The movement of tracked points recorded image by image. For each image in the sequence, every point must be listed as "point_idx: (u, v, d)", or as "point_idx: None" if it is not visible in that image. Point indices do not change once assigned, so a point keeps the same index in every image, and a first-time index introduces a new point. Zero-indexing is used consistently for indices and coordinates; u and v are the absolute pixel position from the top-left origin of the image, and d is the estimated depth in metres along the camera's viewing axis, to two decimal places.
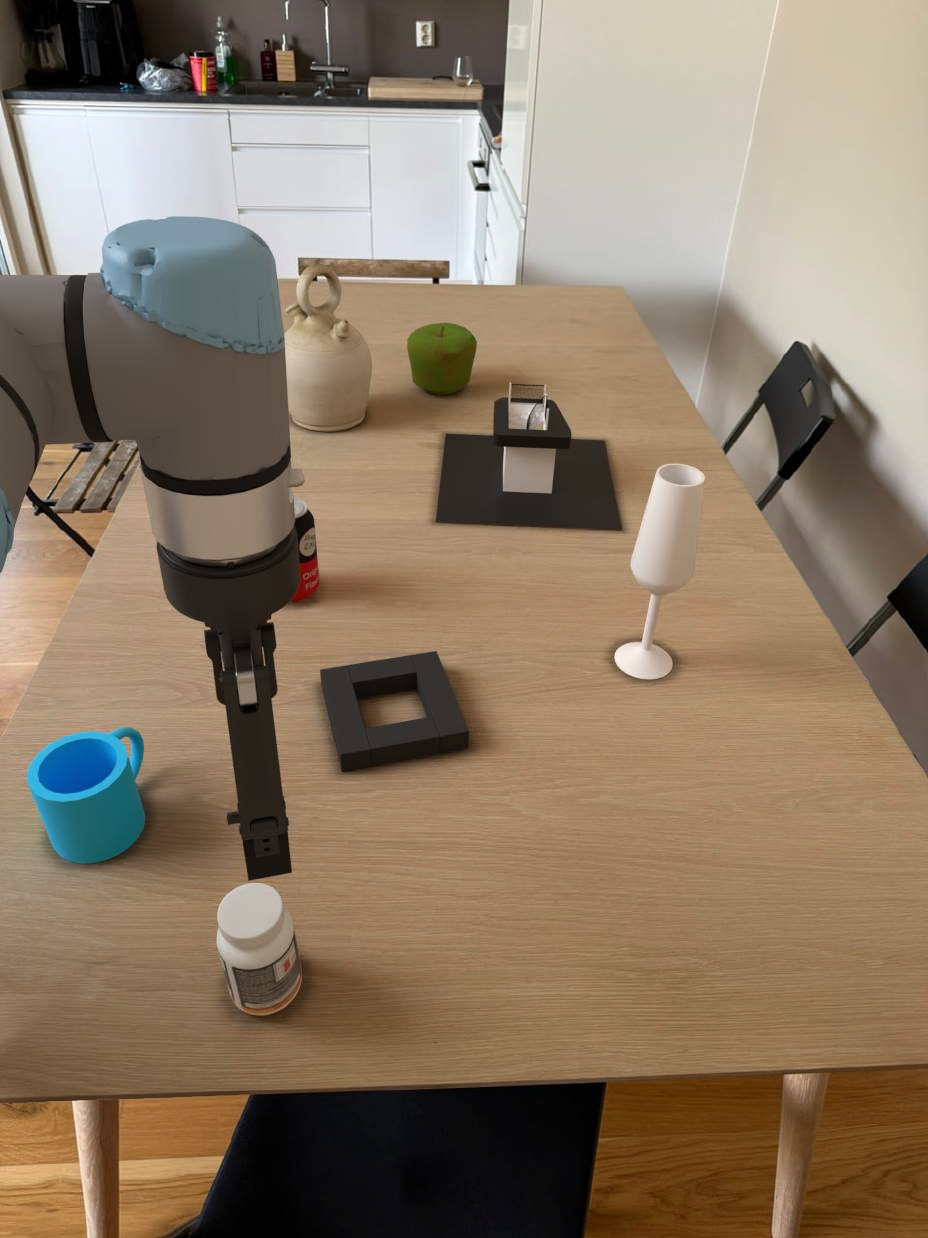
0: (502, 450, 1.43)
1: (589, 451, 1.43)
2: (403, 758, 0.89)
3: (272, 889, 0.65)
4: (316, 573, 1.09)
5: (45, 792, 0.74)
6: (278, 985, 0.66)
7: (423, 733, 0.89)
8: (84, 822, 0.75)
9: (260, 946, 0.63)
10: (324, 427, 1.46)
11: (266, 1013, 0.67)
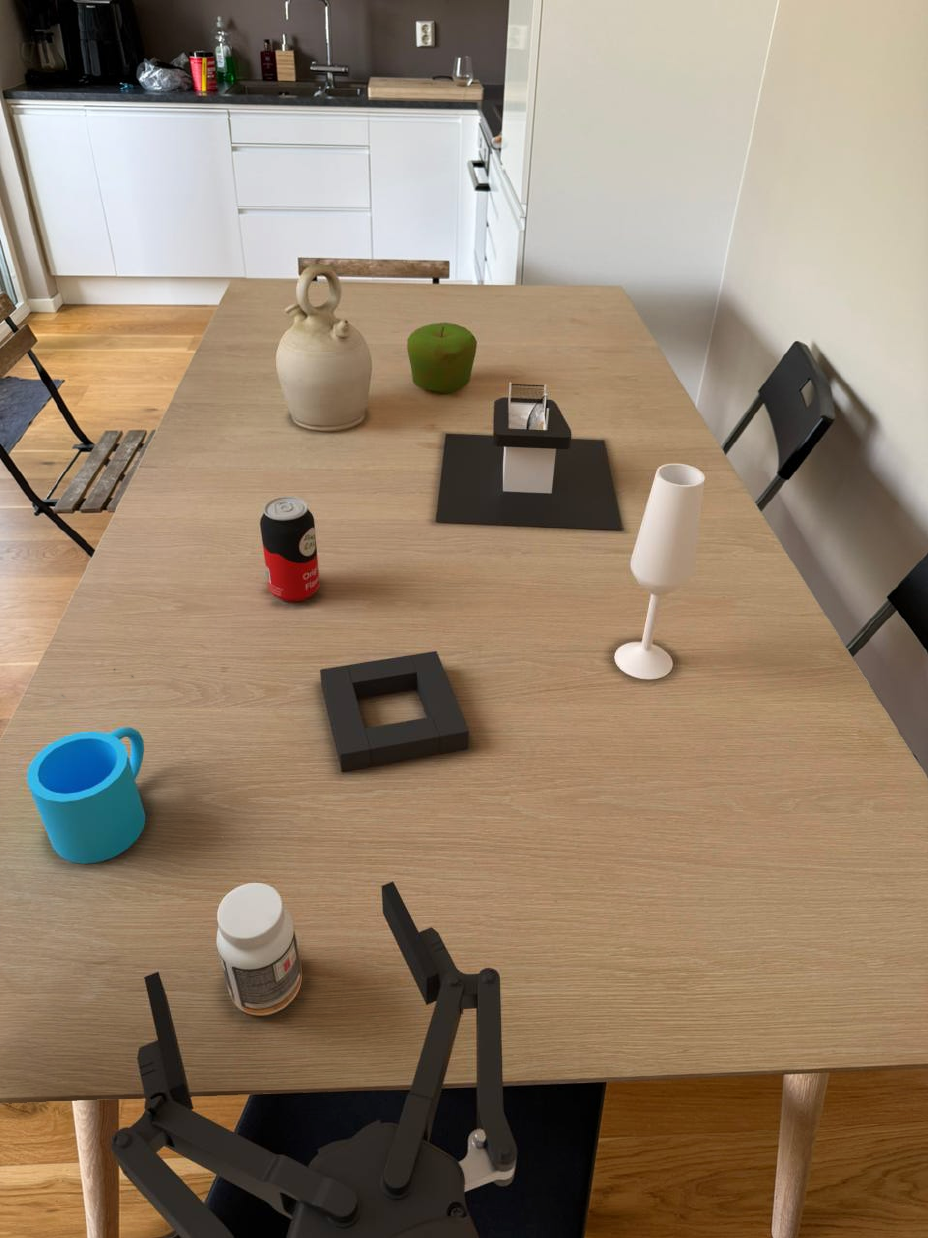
0: (502, 450, 1.43)
1: (589, 451, 1.43)
2: (403, 758, 0.89)
3: (272, 889, 0.65)
4: (316, 573, 1.09)
5: (45, 792, 0.74)
6: (278, 985, 0.66)
7: (423, 733, 0.89)
8: (84, 822, 0.75)
9: (260, 946, 0.63)
10: (324, 427, 1.46)
11: (266, 1013, 0.67)
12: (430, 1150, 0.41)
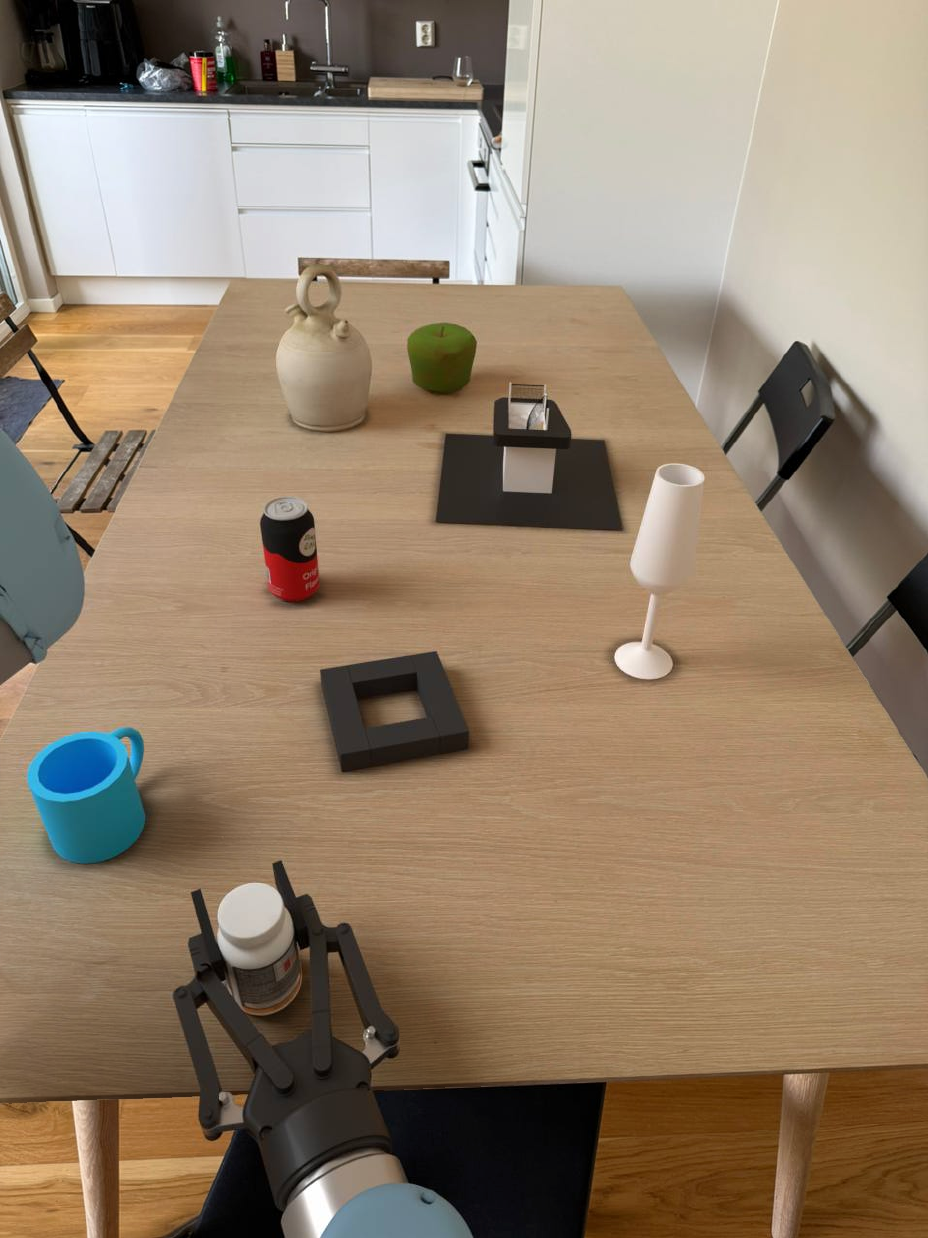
0: (502, 450, 1.43)
1: (589, 451, 1.43)
2: (403, 758, 0.89)
3: (272, 889, 0.65)
4: (316, 573, 1.09)
5: (45, 792, 0.74)
6: (278, 985, 0.66)
7: (423, 733, 0.89)
8: (84, 822, 0.75)
9: (260, 946, 0.63)
10: (324, 427, 1.46)
11: (266, 1013, 0.67)
12: (347, 1048, 0.59)
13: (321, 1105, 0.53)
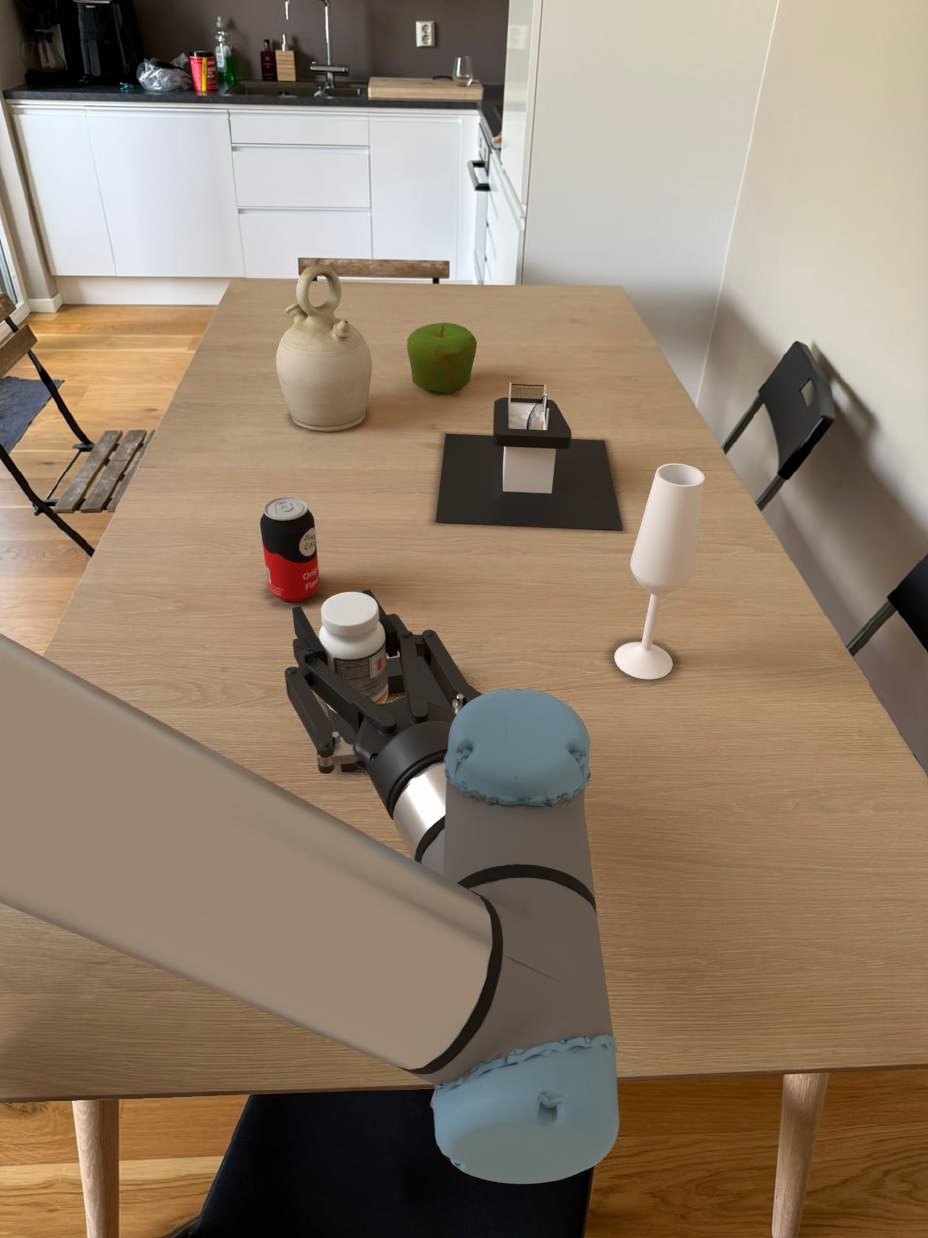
0: (502, 450, 1.43)
1: (589, 451, 1.43)
2: None
3: (367, 595, 0.74)
4: (316, 573, 1.09)
5: None
6: (371, 683, 0.74)
7: None
8: None
9: (359, 638, 0.72)
10: (324, 427, 1.46)
11: None
12: (440, 708, 0.67)
13: (425, 726, 0.62)
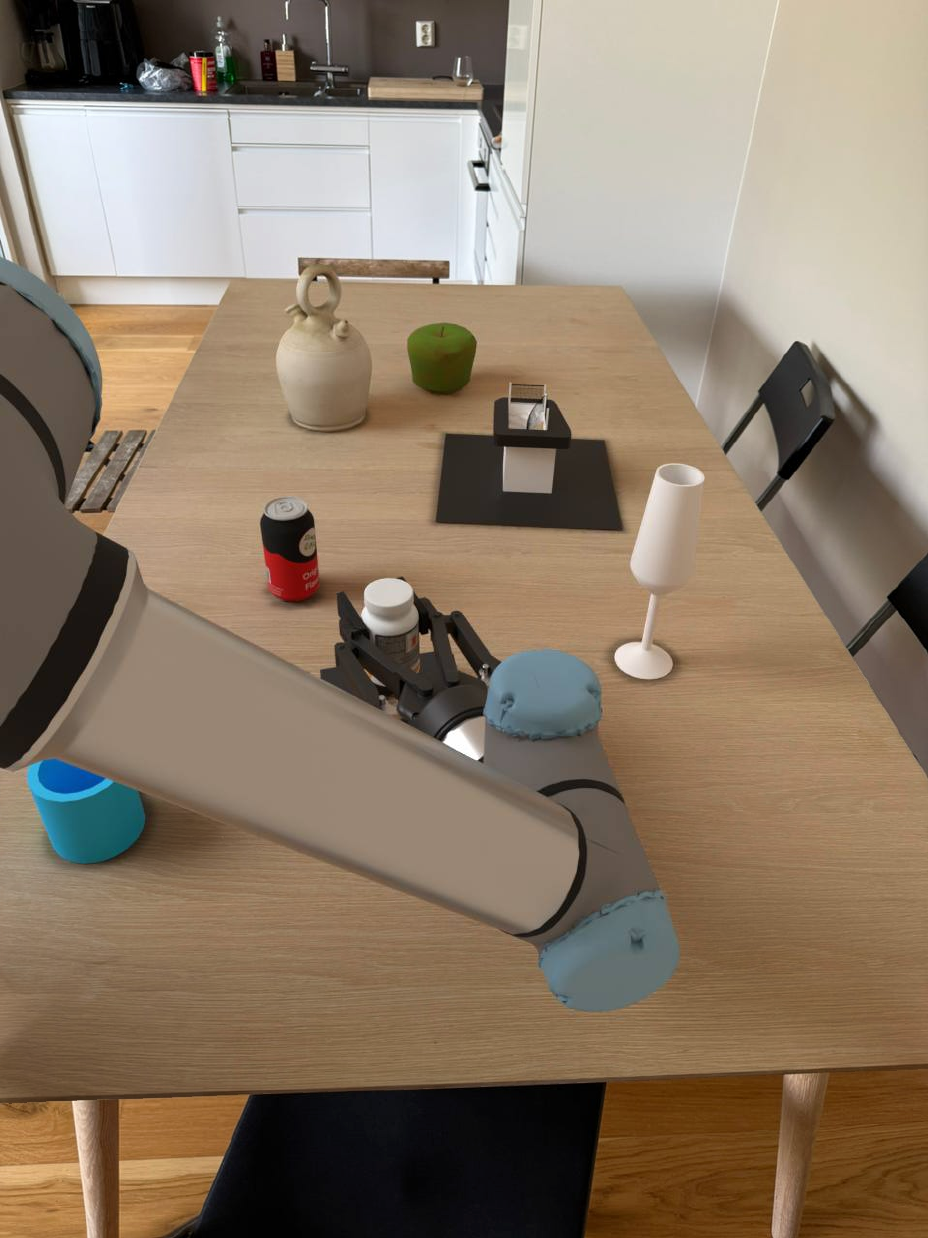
0: (502, 450, 1.43)
1: (589, 451, 1.43)
2: None
3: (403, 581, 0.85)
4: (316, 573, 1.09)
5: (45, 792, 0.74)
6: (407, 657, 0.86)
7: None
8: (84, 822, 0.75)
9: (397, 617, 0.83)
10: (324, 427, 1.46)
11: None
12: (469, 675, 0.79)
13: (459, 689, 0.74)
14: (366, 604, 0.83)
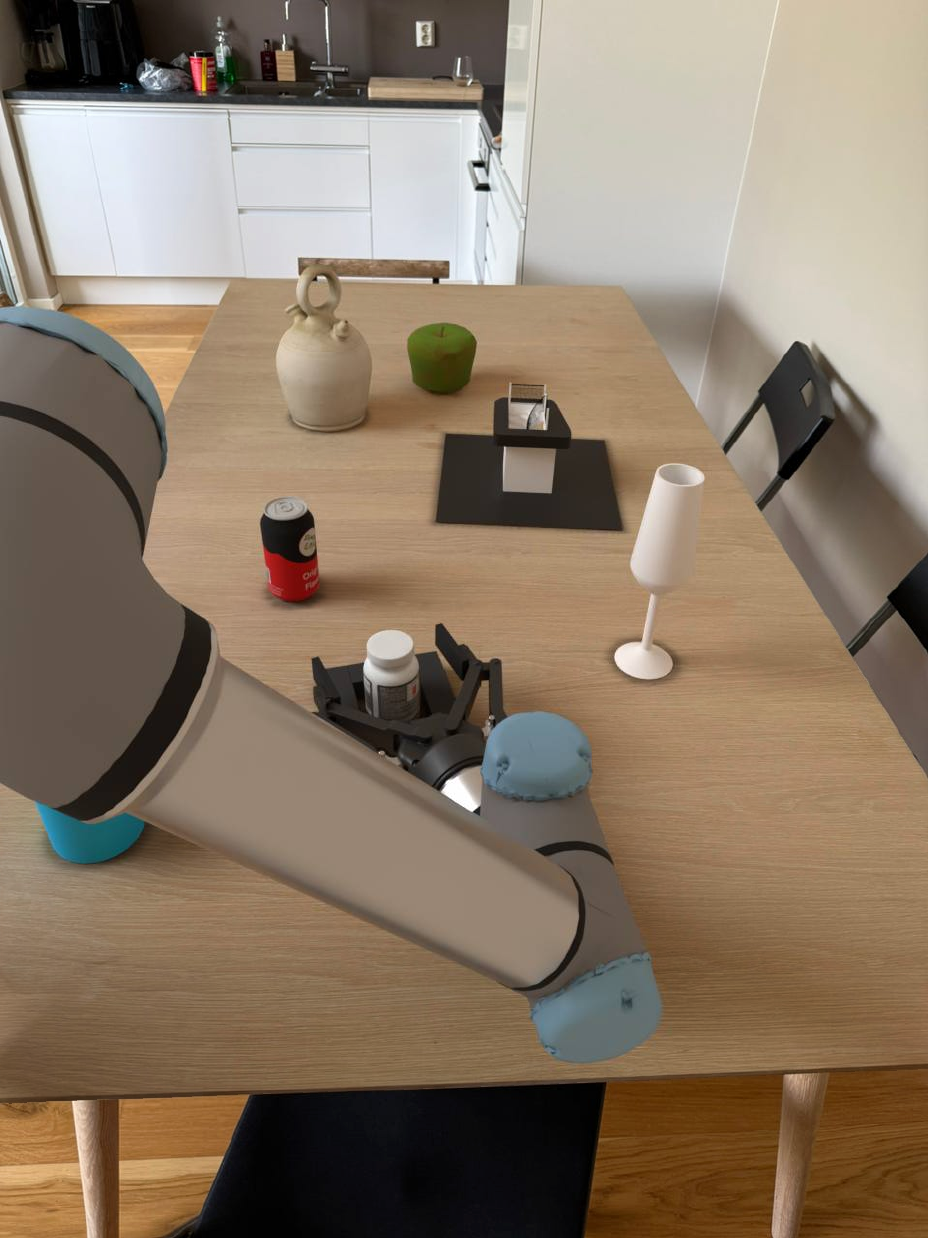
0: (502, 450, 1.43)
1: (589, 451, 1.43)
2: None
3: (404, 633, 0.89)
4: (316, 573, 1.09)
5: None
6: (407, 705, 0.90)
7: None
8: None
9: (398, 669, 0.87)
10: (324, 427, 1.46)
11: None
12: (466, 722, 0.83)
13: (457, 738, 0.77)
14: (369, 656, 0.87)
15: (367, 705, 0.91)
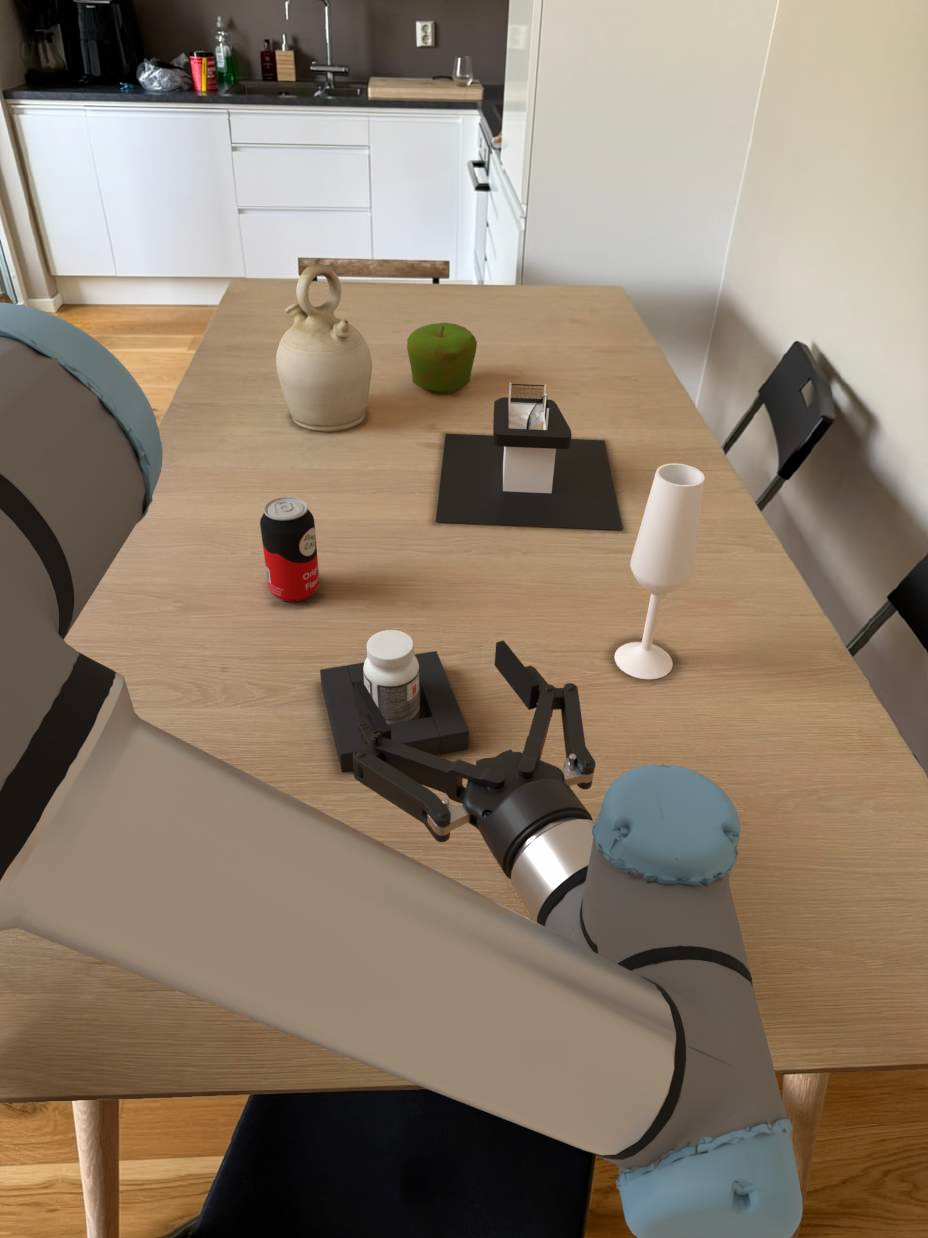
0: (502, 450, 1.43)
1: (589, 451, 1.43)
2: None
3: (404, 633, 0.89)
4: (316, 573, 1.09)
5: None
6: (407, 705, 0.90)
7: (423, 733, 0.89)
8: None
9: (398, 669, 0.87)
10: (324, 427, 1.46)
11: None
12: (543, 762, 0.69)
13: (538, 785, 0.64)
14: (369, 656, 0.87)
15: None
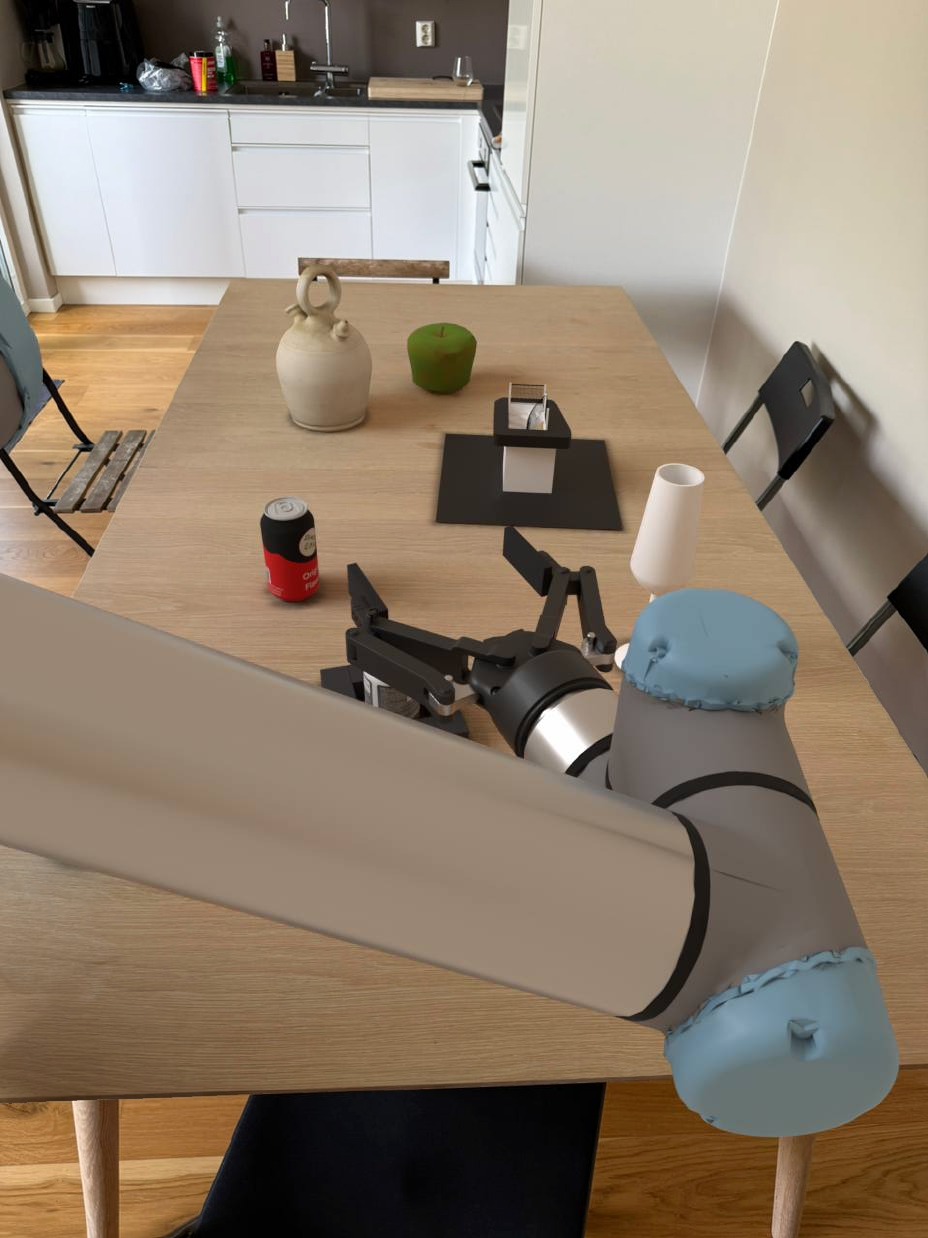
0: (502, 450, 1.43)
1: (589, 451, 1.43)
2: None
3: None
4: (316, 573, 1.09)
5: None
6: (407, 705, 0.90)
7: None
8: None
9: None
10: (324, 427, 1.46)
11: None
12: (558, 640, 0.62)
13: (554, 655, 0.56)
14: None
15: None
